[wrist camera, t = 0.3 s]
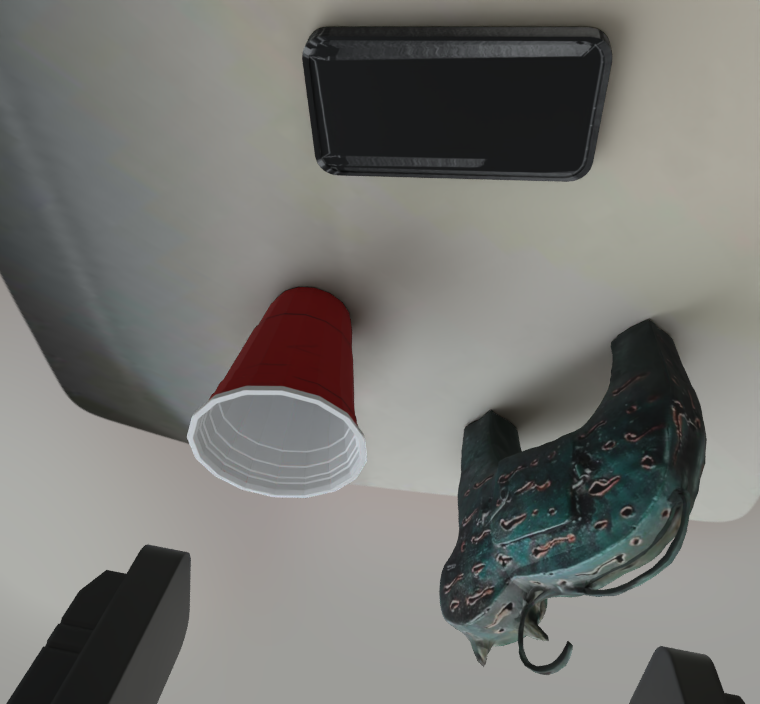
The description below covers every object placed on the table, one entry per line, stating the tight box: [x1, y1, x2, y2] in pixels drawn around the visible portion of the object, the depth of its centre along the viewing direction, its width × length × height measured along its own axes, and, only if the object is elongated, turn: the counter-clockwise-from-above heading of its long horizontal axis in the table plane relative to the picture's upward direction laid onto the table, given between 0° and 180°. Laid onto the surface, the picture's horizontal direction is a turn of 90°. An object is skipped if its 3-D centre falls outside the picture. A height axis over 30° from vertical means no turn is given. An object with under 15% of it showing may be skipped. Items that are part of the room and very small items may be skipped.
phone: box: [302, 27, 612, 182], centre depth 37 cm, size 8×1×15 cm
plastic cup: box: [187, 287, 367, 498], centre depth 46 cm, size 11×11×12 cm
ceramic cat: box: [440, 320, 706, 675], centre depth 46 cm, size 20×6×20 cm, turn 141°
